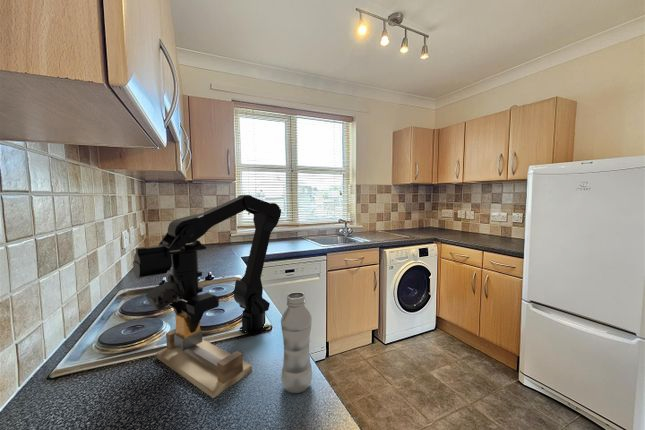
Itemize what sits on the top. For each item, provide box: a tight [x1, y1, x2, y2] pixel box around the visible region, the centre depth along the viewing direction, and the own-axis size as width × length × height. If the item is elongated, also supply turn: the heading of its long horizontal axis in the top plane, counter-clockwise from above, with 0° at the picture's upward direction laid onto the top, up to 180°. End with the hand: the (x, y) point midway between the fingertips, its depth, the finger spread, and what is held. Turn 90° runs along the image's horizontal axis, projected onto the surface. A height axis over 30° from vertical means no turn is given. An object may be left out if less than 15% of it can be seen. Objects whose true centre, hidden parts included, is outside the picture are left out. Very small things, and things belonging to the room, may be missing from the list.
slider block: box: [174, 312, 203, 351], centre depth 67 cm, size 5×4×8 cm
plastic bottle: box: [280, 291, 313, 394], centre depth 56 cm, size 6×7×20 cm
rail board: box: [156, 328, 253, 399], centre depth 64 cm, size 10×24×6 cm, turn 56°
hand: (188, 329), depth 67 cm, fingers closed on slider block, 4 cm apart
